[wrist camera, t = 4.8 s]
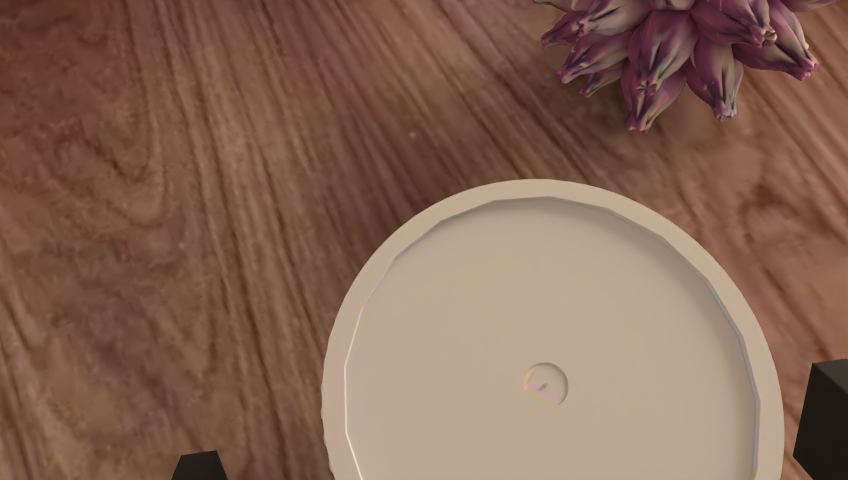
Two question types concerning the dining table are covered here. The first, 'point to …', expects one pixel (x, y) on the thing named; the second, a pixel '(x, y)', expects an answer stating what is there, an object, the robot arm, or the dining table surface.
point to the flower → (679, 48)
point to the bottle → (548, 349)
